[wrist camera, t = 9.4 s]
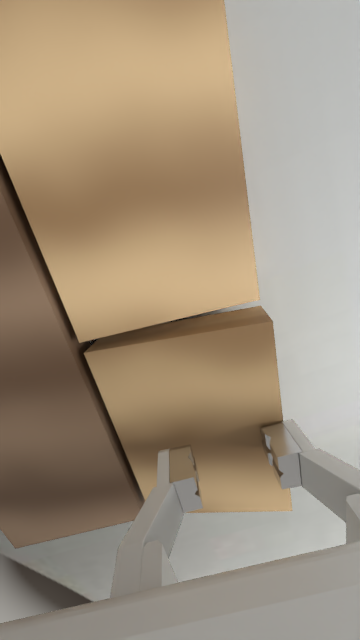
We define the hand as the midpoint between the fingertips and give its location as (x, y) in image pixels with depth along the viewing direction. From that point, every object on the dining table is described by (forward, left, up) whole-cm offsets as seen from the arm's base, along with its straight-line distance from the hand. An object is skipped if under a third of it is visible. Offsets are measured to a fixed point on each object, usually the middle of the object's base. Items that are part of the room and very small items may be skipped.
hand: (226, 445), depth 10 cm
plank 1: (-12, -1, -3) cm, 12 cm away
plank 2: (0, -1, -3) cm, 3 cm away
